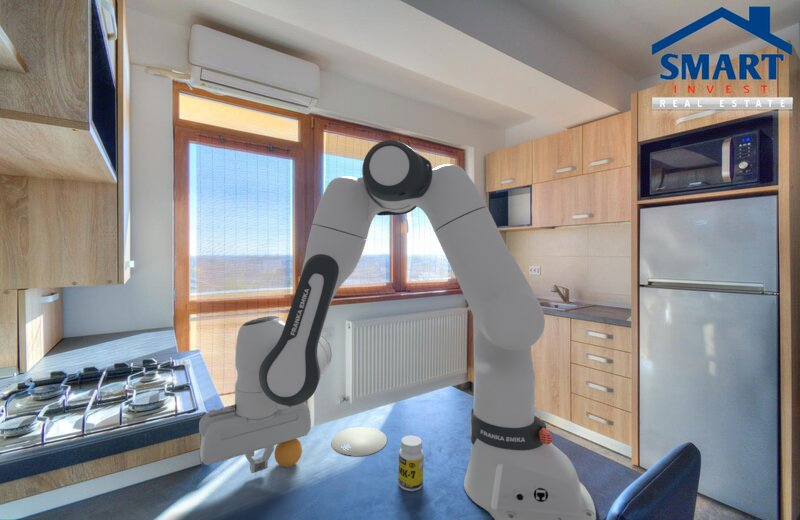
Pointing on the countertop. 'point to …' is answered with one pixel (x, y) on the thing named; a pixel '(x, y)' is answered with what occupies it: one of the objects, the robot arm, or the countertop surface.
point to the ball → (288, 452)
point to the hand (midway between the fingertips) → (258, 469)
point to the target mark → (359, 441)
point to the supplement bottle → (411, 463)
